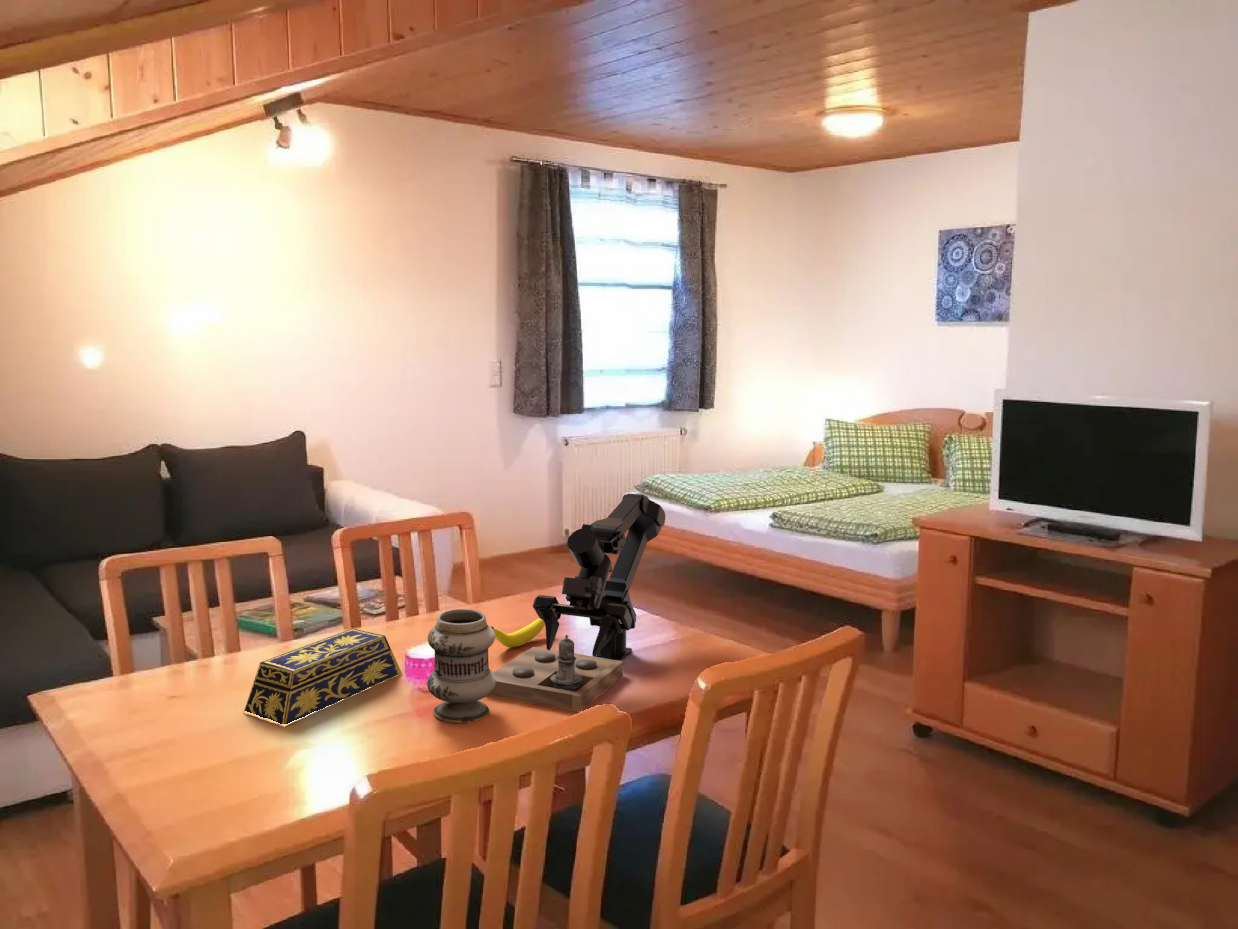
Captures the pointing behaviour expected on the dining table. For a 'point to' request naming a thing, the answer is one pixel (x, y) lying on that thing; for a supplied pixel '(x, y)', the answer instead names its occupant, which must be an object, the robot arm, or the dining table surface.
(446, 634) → the apothecary jar
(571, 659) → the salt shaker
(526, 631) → the banana
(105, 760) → the dining table surface
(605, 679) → the brown peg board
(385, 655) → the decorative box
